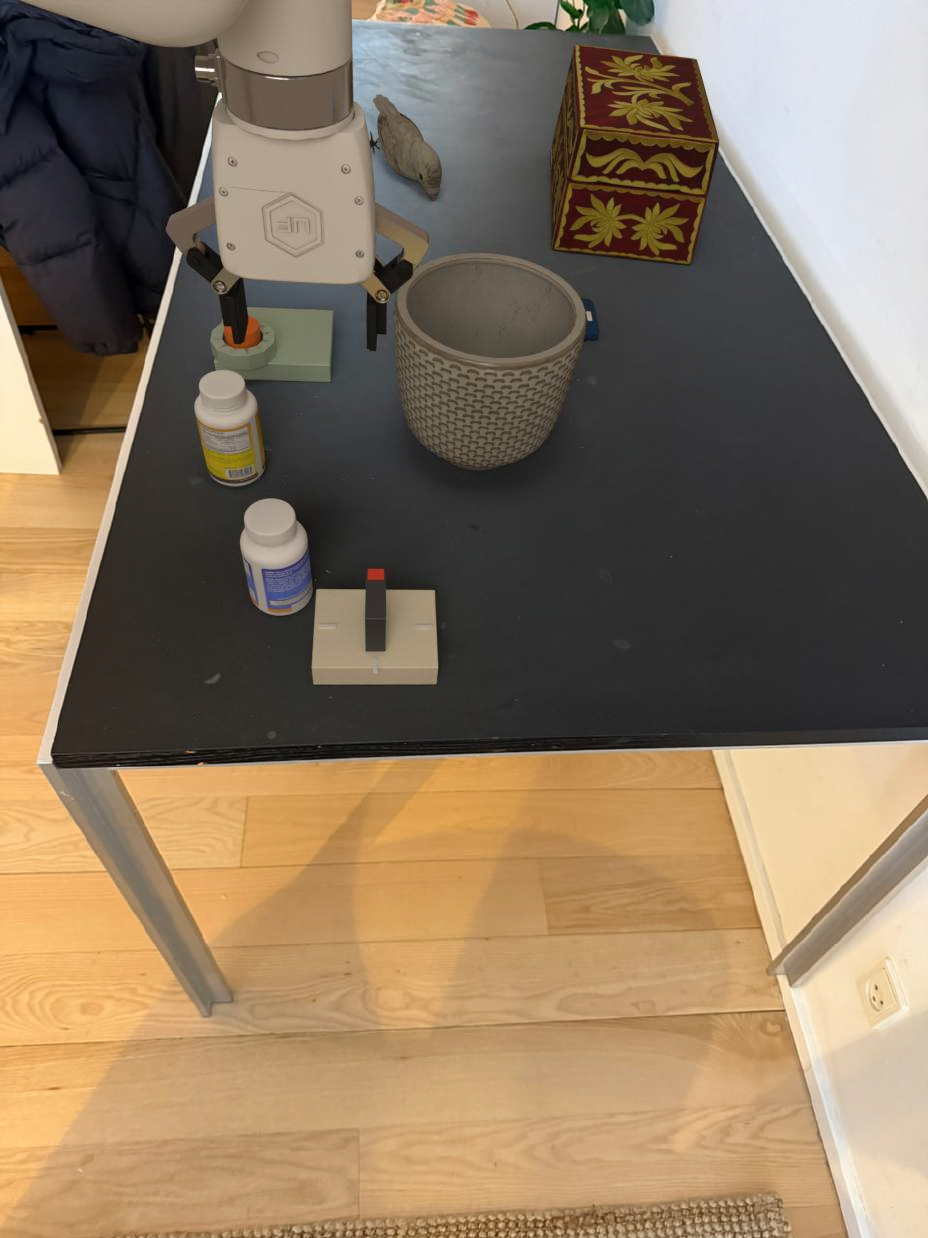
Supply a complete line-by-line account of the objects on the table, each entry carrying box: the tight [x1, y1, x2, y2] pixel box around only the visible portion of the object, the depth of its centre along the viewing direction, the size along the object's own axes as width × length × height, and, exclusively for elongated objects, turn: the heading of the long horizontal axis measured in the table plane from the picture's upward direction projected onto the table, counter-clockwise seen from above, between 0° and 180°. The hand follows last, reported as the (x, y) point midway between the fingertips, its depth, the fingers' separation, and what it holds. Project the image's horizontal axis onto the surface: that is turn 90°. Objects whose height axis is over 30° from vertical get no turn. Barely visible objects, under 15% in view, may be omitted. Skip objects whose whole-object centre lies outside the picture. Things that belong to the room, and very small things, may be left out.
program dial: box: [364, 568, 387, 651], centre depth 69 cm, size 5×2×5 cm, turn 3°
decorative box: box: [550, 44, 720, 265], centre depth 115 cm, size 28×19×15 cm
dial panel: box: [311, 588, 439, 686], centre depth 72 cm, size 10×9×3 cm
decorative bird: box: [369, 93, 443, 202], centre depth 119 cm, size 5×16×8 cm, turn 32°
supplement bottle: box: [193, 370, 266, 487], centre depth 80 cm, size 6×6×10 cm
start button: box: [223, 316, 261, 349], centre depth 90 cm, size 4×4×2 cm
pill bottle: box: [239, 497, 314, 617], centre depth 71 cm, size 5×5×10 cm
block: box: [209, 306, 335, 383], centre depth 93 cm, size 12×11×4 cm
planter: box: [392, 252, 587, 472], centre depth 83 cm, size 17×17×16 cm
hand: (307, 336), depth 64 cm, fingers open, 9 cm apart
